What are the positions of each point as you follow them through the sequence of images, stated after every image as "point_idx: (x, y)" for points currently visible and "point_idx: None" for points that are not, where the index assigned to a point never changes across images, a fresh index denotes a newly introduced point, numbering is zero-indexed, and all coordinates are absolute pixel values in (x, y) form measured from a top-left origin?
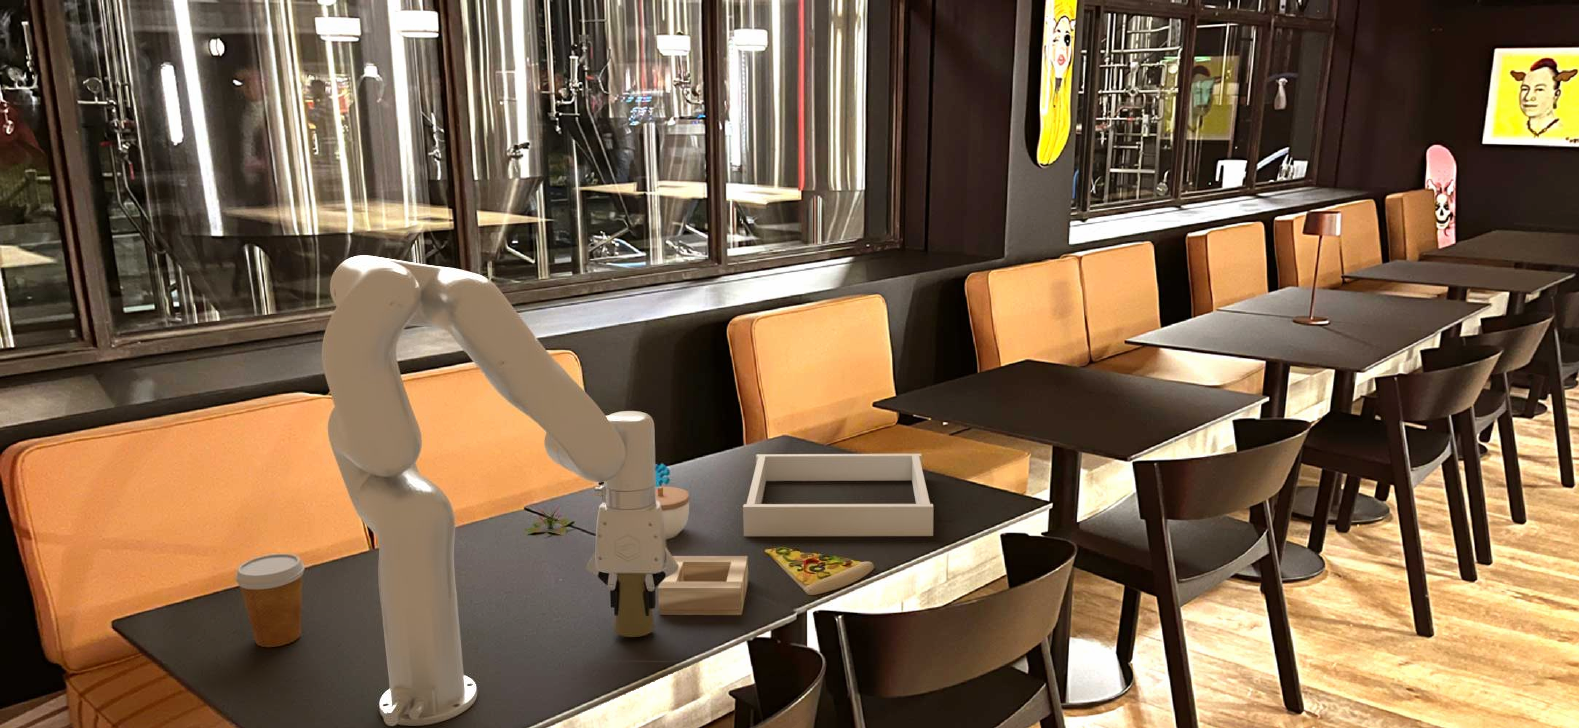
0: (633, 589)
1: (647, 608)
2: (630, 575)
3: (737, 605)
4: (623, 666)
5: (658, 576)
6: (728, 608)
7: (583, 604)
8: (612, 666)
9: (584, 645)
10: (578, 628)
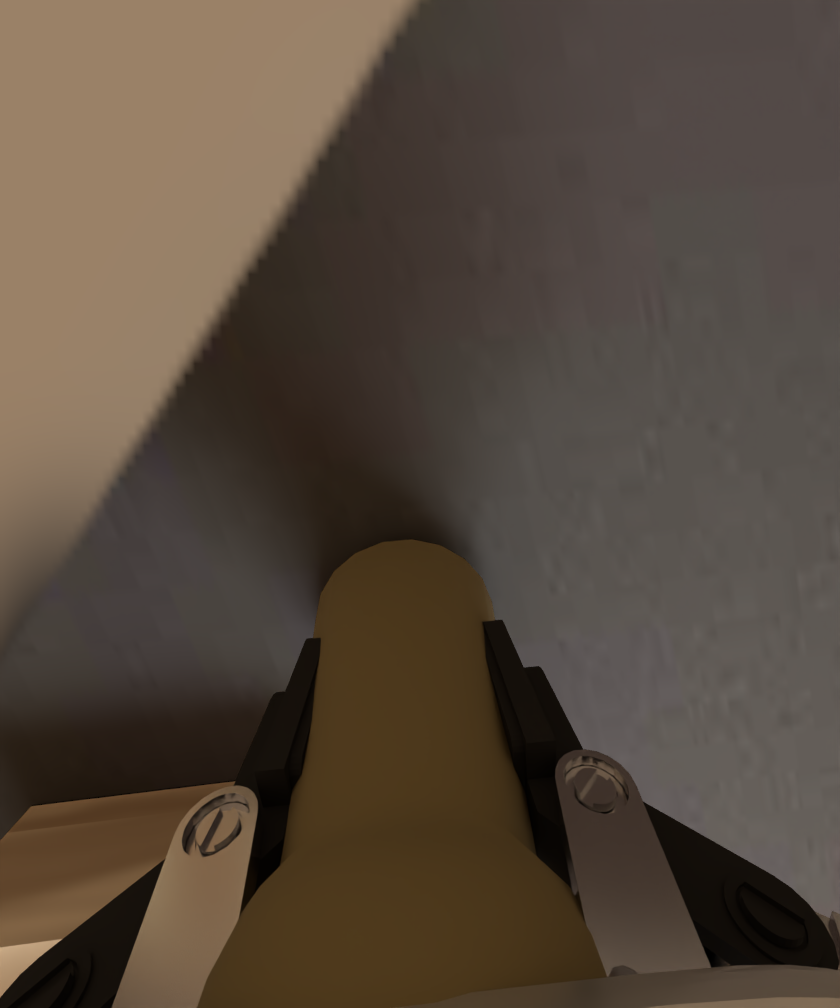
0: (371, 767)
1: (299, 665)
2: (375, 962)
3: (8, 848)
4: (369, 318)
5: (69, 1001)
6: (61, 829)
7: (656, 797)
8: (420, 313)
9: (590, 498)
10: (641, 631)
